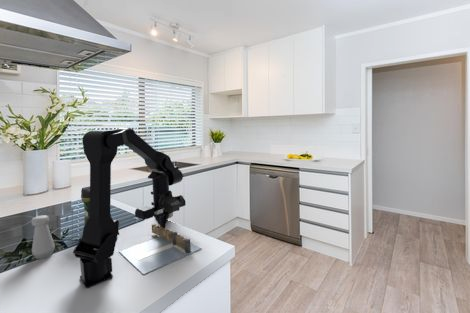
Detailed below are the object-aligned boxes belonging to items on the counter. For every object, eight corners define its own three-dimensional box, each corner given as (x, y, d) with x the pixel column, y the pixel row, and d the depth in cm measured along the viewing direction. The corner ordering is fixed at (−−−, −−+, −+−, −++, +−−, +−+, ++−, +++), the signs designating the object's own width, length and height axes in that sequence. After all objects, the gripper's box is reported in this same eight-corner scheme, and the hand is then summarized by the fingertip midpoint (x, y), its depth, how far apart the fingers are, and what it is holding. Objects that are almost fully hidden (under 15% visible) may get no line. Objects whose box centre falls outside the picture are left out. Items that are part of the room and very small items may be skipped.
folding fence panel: (173, 240, 86) (173, 231, 85) (171, 241, 85) (170, 233, 84) (154, 231, 93) (154, 223, 93) (152, 232, 92) (151, 224, 92)
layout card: (143, 275, 67) (143, 273, 67) (118, 252, 80) (118, 251, 80) (201, 249, 81) (201, 247, 81) (172, 232, 94) (172, 232, 94)
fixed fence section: (187, 254, 78) (186, 242, 77) (171, 244, 84) (171, 233, 84) (191, 252, 79) (191, 240, 79) (176, 243, 86) (175, 231, 85)
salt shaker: (36, 253, 79) (32, 214, 78) (57, 249, 82) (53, 212, 80) (29, 262, 74) (24, 221, 73) (52, 258, 76) (48, 218, 75)
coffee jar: (107, 225, 102) (104, 181, 99) (116, 230, 97) (112, 184, 94) (81, 233, 94) (77, 186, 92) (89, 239, 89) (85, 189, 87)
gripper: (152, 198, 78) (154, 244, 79) (194, 186, 92) (196, 225, 94) (132, 193, 84) (135, 236, 86) (175, 182, 99) (176, 219, 101)
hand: (162, 229), depth 92 cm, fingers closed
